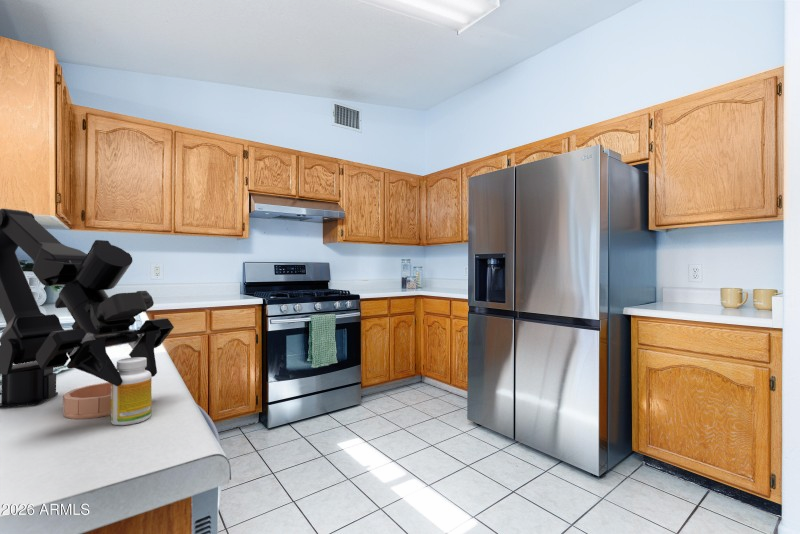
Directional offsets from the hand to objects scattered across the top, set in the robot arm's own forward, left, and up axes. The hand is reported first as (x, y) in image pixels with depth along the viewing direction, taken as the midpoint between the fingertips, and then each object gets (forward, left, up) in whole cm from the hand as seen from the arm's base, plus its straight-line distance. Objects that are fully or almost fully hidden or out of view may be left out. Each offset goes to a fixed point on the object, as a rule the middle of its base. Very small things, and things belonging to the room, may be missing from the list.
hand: (138, 379), depth 62 cm
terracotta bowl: (-8, +9, -7) cm, 14 cm away
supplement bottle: (-1, +1, -7) cm, 7 cm away
